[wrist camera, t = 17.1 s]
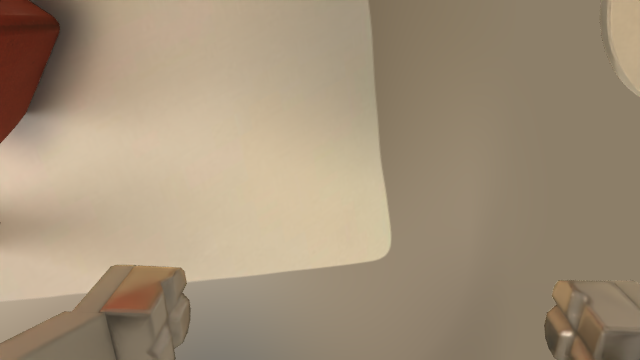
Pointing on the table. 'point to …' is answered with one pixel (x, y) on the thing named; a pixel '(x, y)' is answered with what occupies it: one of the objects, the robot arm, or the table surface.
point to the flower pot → (22, 57)
